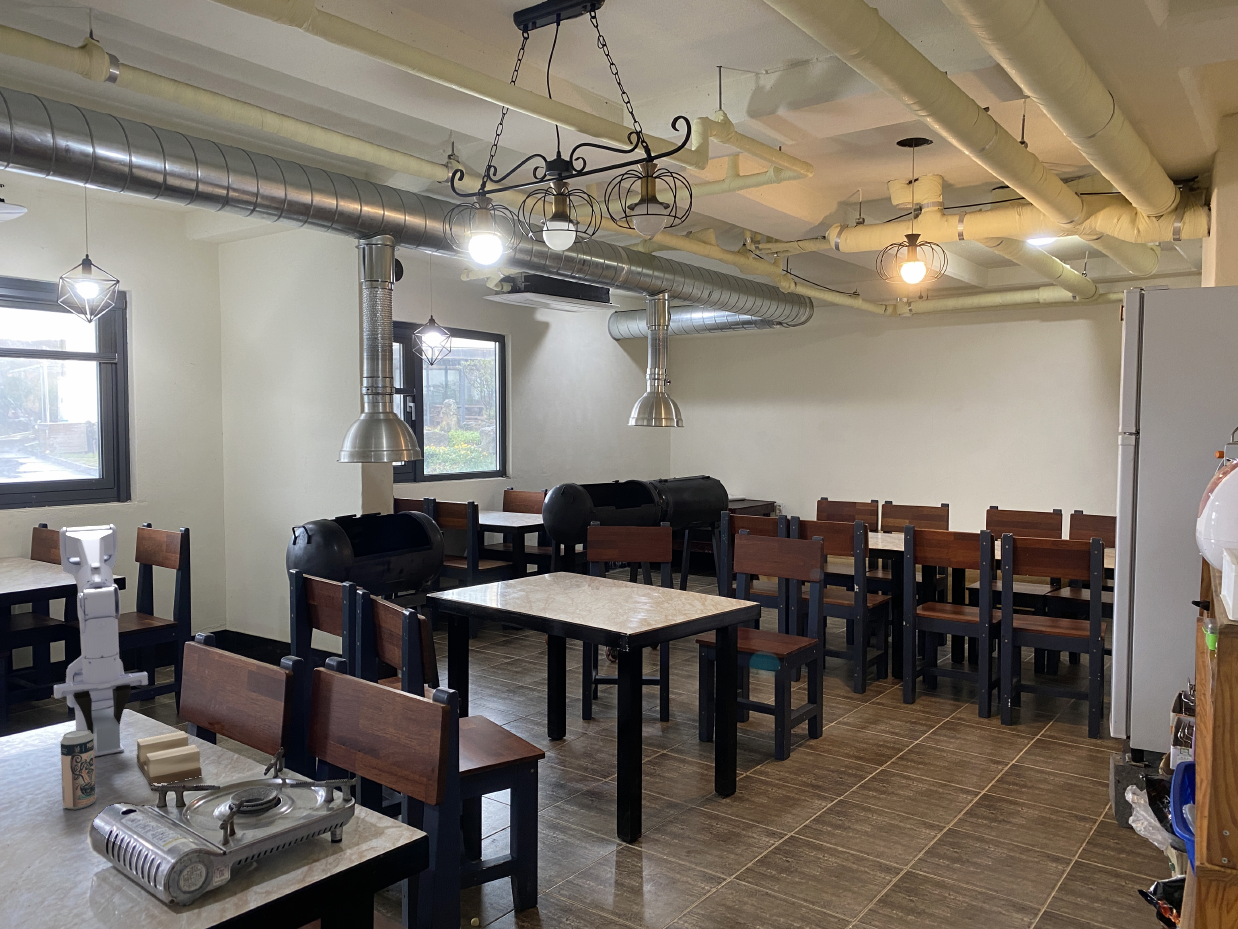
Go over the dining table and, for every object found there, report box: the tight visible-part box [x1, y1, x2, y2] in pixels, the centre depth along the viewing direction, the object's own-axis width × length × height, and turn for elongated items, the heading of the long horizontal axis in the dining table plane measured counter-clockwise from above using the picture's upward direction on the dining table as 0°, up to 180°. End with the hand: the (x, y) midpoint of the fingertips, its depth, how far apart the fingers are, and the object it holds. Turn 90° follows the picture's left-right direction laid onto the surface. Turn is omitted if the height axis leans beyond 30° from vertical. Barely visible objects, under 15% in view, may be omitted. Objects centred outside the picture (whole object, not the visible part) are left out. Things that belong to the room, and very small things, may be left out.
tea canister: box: [59, 729, 97, 811], centre depth 153 cm, size 5×5×12 cm
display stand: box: [136, 730, 203, 786], centre depth 169 cm, size 16×8×4 cm, turn 36°
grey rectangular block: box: [92, 708, 121, 752], centre depth 166 cm, size 13×4×4 cm, turn 36°
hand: (103, 730), depth 166 cm, fingers closed on grey rectangular block, 3 cm apart
